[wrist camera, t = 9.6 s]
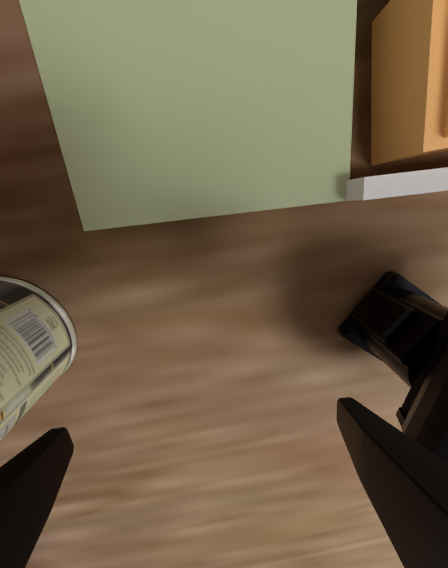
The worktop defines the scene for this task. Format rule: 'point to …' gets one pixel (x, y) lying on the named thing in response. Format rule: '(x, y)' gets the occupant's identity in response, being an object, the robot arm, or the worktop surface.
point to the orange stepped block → (409, 80)
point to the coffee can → (30, 347)
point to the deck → (204, 106)
